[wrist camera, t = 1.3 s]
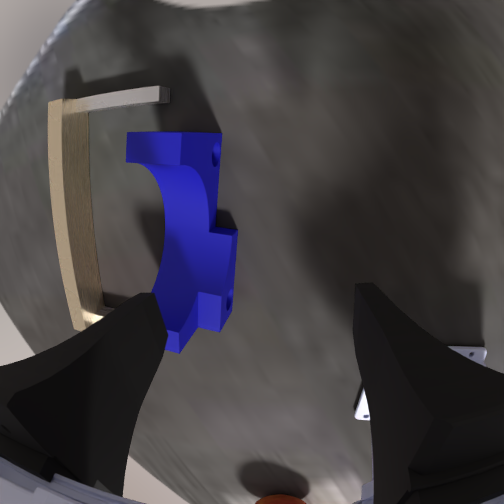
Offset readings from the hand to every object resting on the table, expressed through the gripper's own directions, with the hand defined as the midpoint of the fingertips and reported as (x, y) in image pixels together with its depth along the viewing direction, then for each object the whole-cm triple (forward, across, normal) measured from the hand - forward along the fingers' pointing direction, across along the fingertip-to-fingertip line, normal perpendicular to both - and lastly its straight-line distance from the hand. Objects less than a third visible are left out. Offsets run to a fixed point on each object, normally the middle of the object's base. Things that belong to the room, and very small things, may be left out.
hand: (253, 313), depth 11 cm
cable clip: (+11, +4, 0) cm, 11 cm away
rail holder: (+11, +11, -1) cm, 15 cm away
